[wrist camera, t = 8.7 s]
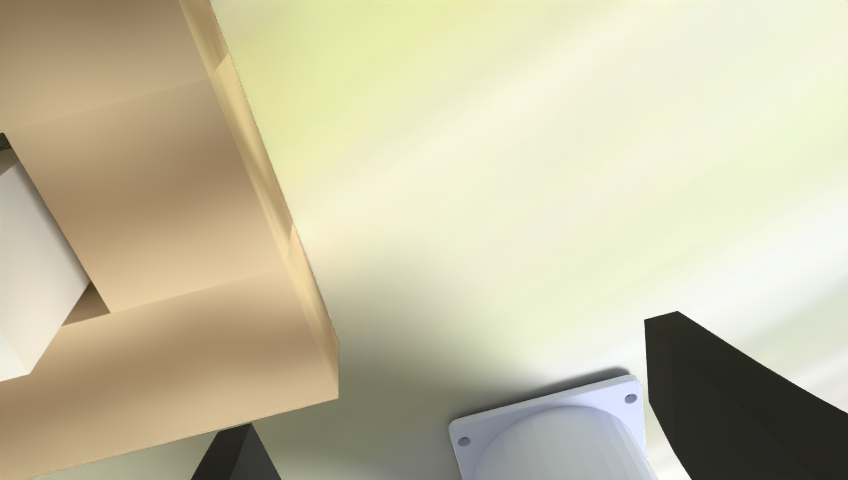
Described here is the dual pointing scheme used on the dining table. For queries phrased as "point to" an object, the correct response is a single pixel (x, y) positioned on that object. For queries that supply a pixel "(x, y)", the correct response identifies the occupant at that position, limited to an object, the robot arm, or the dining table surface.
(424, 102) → the dining table surface
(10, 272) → the plug
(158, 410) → the socket plate
